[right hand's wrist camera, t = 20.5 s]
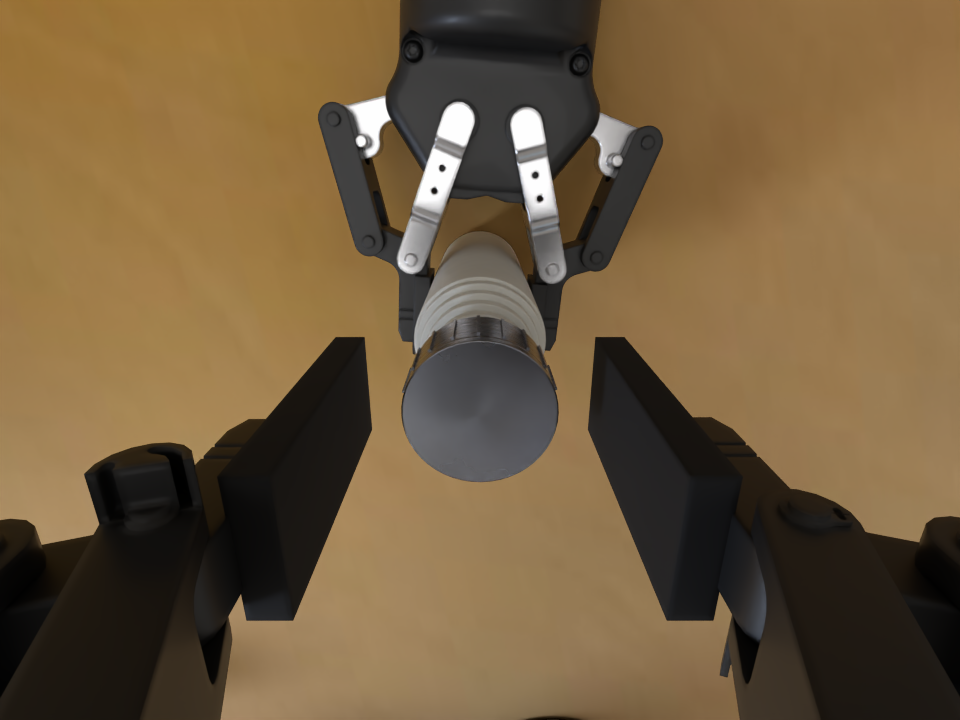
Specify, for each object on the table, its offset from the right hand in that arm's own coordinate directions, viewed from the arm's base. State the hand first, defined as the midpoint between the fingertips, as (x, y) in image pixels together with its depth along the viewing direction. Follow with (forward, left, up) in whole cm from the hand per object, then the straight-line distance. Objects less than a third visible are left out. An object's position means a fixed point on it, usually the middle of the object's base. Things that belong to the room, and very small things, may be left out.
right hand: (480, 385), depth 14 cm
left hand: (-2, +2, -10) cm, 11 cm away
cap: (0, 0, +1) cm, 1 cm away
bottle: (0, 0, -16) cm, 16 cm away
